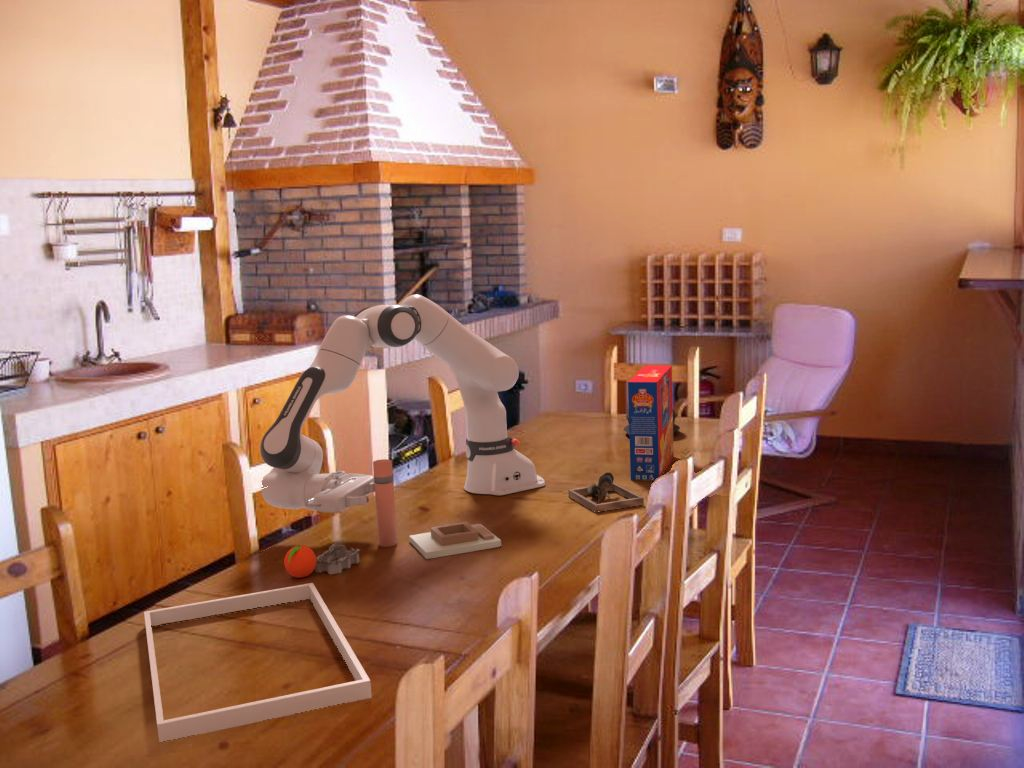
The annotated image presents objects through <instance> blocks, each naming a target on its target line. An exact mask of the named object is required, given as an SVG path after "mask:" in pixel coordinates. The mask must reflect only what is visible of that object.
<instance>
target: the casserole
mask: <svg viewBox="0 0 1024 768" xmlns="http://www.w3.org/2000/svg"><path fill="white" fill-rule="evenodd" d="M677 417H678V414H677V413H676V412H675V408H673V433H677V432H678V431H679V430H680V429H681V427H680V426H679V425H678V424H677V423H675V421H676V418H677ZM625 418H626V419H627V421H628V424H627V425H625V426H624V427H623V431H624V432H626V433H627V434H628V436H629V409H628V411H627V414H626V415H625Z"/></svg>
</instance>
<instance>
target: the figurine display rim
mask: <svg viewBox="0 0 1024 768" xmlns="http://www.w3.org/2000/svg"><path fill="white" fill-rule="evenodd" d="M611 486H612V488H611V490H610V491H611V492H614V491H615V492H614V493H616V492H617V493H616V494H618V493H619V494H618V495H620V494H621V495H620V496H622V495H623V496H625V497H627V498H628V499H627V498H625V497H624V498H625V499H621V500H616V501H608V502H602V503H597V502H594V501H593V500H590V499H588V498H587V497H585V496H589V495H588V494H591V493H589V492H588V491H587V489H588V487H589V486H584V487H578V488H577V487H576V488H573V489H568V492H567V493H568V498H569V497H570V498H569V499H571V498H572V499H571V500H573V499H574V500H575V501H574V500H573V501H574V502H576V501H577V502H576V503H578V502H579V503H580V505H581V504H582V506H583V505H584V506H583V507H585V506H586V507H587V508H586V507H585V508H586V509H588V508H589V509H588V510H590V509H591V510H593V511H595V512H598V511H605V510H612V511H614V510H613V509H618V508H624V509H627V508H626V507H630V508H633V507H632V506H636V507H640V506H639V505H642V506H644V503H645V502H644V500H645V499H644V497H642V495H638V494H637V493H635V492H633V491H631V490H629V489H627V488H626V487H623V486H621V484H617V483H615V482H613V483H612V484H611V485H609V486H608V487H606V489H605V490H607V489H609V488H610V487H611ZM582 495H585V496H582ZM591 495H592V494H591ZM623 496H622V497H623ZM579 503H578V504H579ZM591 510H590V511H591ZM618 510H619V509H618ZM593 511H592V512H593ZM595 512H594V513H595ZM605 512H606V511H605Z"/></svg>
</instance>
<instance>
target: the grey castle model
mask: <svg viewBox="0 0 1024 768" xmlns="http://www.w3.org/2000/svg"><path fill="white" fill-rule="evenodd" d="M360 551H362V549H360V548H356V549H354V548H353V547H351V548H350V550H348V548H347V546H346V545H345V544H342V543H341V544H340V543H339V541H337V542H334V543H333V544H331V545H330V546H329V547H328V549H327V550H324V551H323V553H321V554H320V555H318V556H316V560H317V561H316V566H315V569H314V570H315V573H317V572H320V573H323V572H322V571H327V574H328V575H334V574H341V573H342V572H343V569H350V568H351V567H352V564H359V563H360V553H359V552H360Z"/></svg>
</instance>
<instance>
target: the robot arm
mask: <svg viewBox="0 0 1024 768" xmlns="http://www.w3.org/2000/svg"><path fill="white" fill-rule="evenodd" d="M413 340H415V341H416V342H418V344H420V345H421V346H422V347H424V348H425V349H426V350H428V351H429V353H431V354H432V355H433V356H434V357H436V358H437V359H438V360H439V361H441V362H442V363H444V364H446V365H448V366H449V369H450V373H451V374H452V376H453V378H454V379H455V381H456V383H457V386H458V389H459V393H460V396H461V400H462V403H463V407H464V411H465V412H464V413H465V419H466V420H465V423H466V437H467V438H465V456H466V459H467V468H466V469H467V470H466V478H465V483H464V487H463V488H464V489H463V490H465V491H466V492H469V493H471V494H476V495H477V494H478V495H480V494H481V495H493V496H504V495H505V496H506V495H509V494H513V493H519V492H523V491H528V490H533V489H537V488H541V487H544V486H545V485H546V481H545V479H544V478H543V477H541V476H540V475H538V474H537V470H536V467H535V464H534V462H533V461H532V460H531V459H529V458H528V457H527V456H525V455H524V454H522V453H521V452H520V451H518V450H516V449H515V448H514V447H516V448H517V447H519V445H520V444H521V441H520V440H519V439H517V438H513V437H511V436H508V429H507V427H508V426H507V425H508V424H507V410H506V407H505V405H504V404H503V403H502V401H501V399H500V397H499V394H498V392H505V391H509V390H510V389H512V388H513V387H514V386H515V384H516V382H517V381H518V380H519V374H520V373H519V372H520V371H519V366H518V363H517V361H515V359H514V358H513V357H511V356H509V355H508V354H506V353H505V352H504V351H501V350H500V349H499V348H497V347H495V345H493V344H491V343H490V342H488V341H487V340H485V339H484V338H483V337H480V336H479V335H477V334H476V333H474V332H472V331H471V330H470V329H468V328H467V327H466V326H465V325H463V324H462V323H461V322H460V321H458V320H457V319H456V318H455V317H453V316H452V315H451V314H450V313H449V312H448V311H447V310H445V309H444V308H443V307H441V305H439V304H437V303H435V302H434V301H432V300H431V299H429V298H427V297H425V296H423V295H421V294H411V295H409V296H407V297H405V298H404V299H403V300H402V301H401V302H400V304H379V305H374V306H367V307H365V308H363V309H361V310H359V311H358V312H357V313H356V314H354V315H349V314H348V315H347V314H346V315H345V314H344V315H341V316H338V317H337V318H336V319H335V320H334V321H333V322H332V324H331V326H330V327H329V329H328V331H327V332H326V334H325V336H324V337H323V340H322V342H321V344H320V347H319V349H318V351H317V353H316V356H315V357H314V359H313V362H312V363H311V364H310V365H309V367H308V368H307V369H305V370H304V371H303V372H302V374H301V375H300V377H299V378H298V380H297V382H296V383H295V385H294V387H293V389H292V391H291V393H290V394H289V396H288V398H287V400H286V402H285V403H284V406H283V407H282V409H281V411H280V413H279V415H278V417H277V418H276V420H275V421H274V422H273V424H272V425H270V427H269V428H268V429H267V431H266V432H265V433H264V434H263V437H262V438H261V442H260V446H259V447H260V448H259V449H260V455H261V456H260V457H261V458H262V460H263V461H264V463H265V464H266V465H267V466H269V467H271V468H272V469H271V470H270V471H269V472H268V473H267V474H265V475H264V476H263V477H262V479H263V480H261V482H262V485H263V487H261V486H260V492H261V495H262V498H263V499H264V501H265V502H266V503H267V505H269V506H272V507H275V508H278V509H287V510H300V509H306V510H308V511H316V512H321V513H330V514H337V513H342V512H343V511H345V510H347V509H348V508H350V507H351V508H352V507H355V506H356V507H357V506H366V505H367V504H369V503H370V501H369V495H371V494H372V493H375V485H374V475H371V474H363V473H346V471H345V470H337V471H334V472H329V473H327V472H326V473H325V472H323V473H321V471H322V468H323V464H324V458H325V457H324V456H325V455H324V449H323V447H322V446H321V444H320V443H318V441H316V440H314V439H312V438H310V437H308V436H307V435H304V434H303V433H302V432H303V431H302V430H303V427H304V425H305V423H306V421H307V420H308V417H309V415H310V414H311V412H312V410H313V408H314V406H315V404H316V402H317V401H318V400H319V399H320V398H322V397H324V396H326V395H329V394H330V395H331V394H332V395H333V394H338V393H342V392H344V391H346V390H347V389H349V388H351V386H352V385H353V383H354V381H355V380H356V378H357V376H358V373H359V371H360V369H361V366H362V363H363V360H364V358H365V355H366V353H367V351H369V349H370V348H378V349H388V348H389V349H390V348H401V347H403V346H406V345H408V344H409V343H411V342H412V341H413ZM267 486H268V487H267ZM264 487H267V488H264ZM261 488H264V489H262V490H261Z"/></svg>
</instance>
